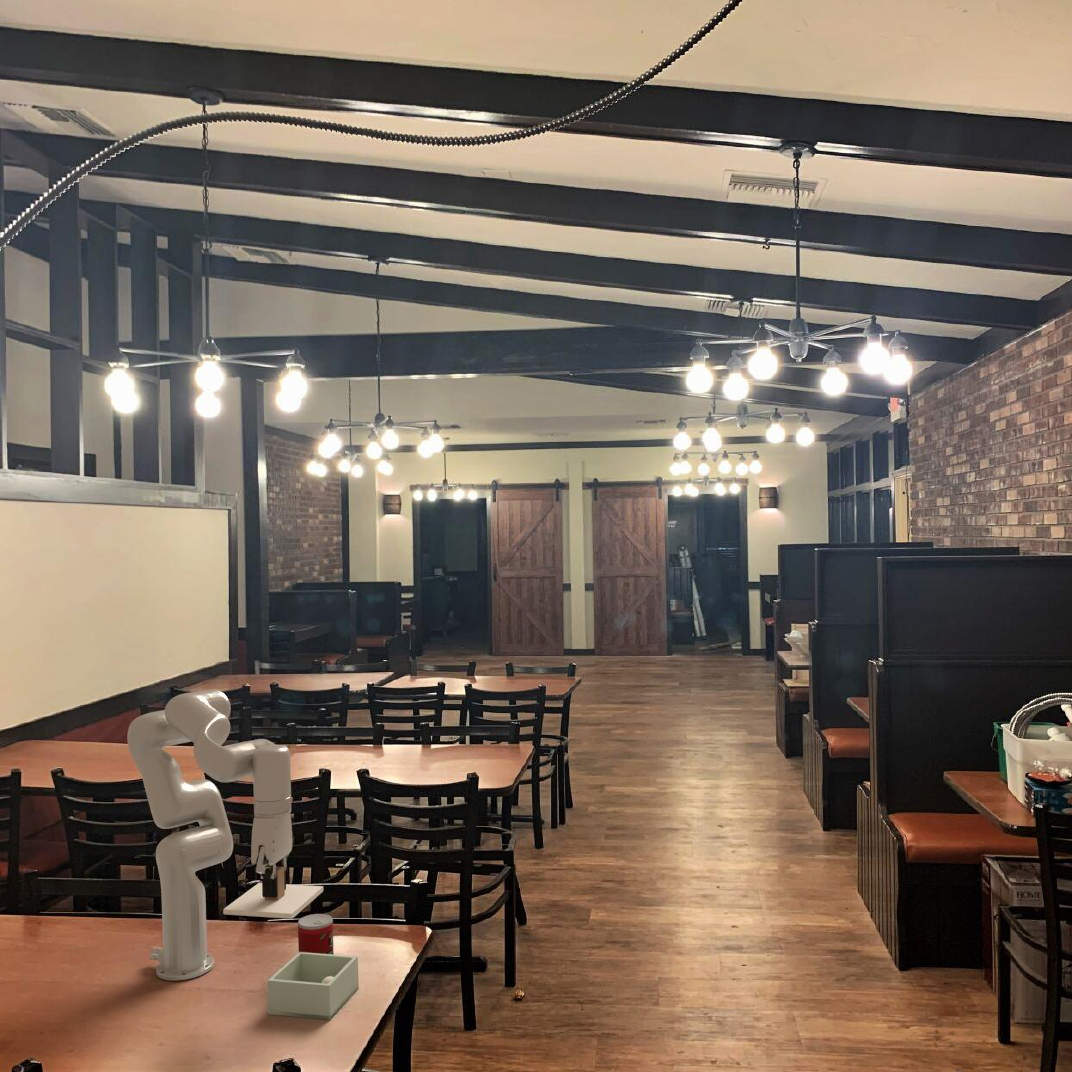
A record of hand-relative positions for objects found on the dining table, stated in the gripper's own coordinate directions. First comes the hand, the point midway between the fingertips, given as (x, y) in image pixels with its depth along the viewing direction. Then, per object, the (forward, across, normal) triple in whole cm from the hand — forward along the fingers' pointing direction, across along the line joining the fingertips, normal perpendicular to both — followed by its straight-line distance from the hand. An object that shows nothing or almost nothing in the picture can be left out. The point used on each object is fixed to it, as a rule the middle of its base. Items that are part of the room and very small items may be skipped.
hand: (274, 892), depth 200 cm
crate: (+25, -5, +6) cm, 26 cm away
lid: (+2, 0, 0) cm, 2 cm away
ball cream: (+22, -7, +9) cm, 25 cm away
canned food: (+25, -21, 0) cm, 33 cm away
